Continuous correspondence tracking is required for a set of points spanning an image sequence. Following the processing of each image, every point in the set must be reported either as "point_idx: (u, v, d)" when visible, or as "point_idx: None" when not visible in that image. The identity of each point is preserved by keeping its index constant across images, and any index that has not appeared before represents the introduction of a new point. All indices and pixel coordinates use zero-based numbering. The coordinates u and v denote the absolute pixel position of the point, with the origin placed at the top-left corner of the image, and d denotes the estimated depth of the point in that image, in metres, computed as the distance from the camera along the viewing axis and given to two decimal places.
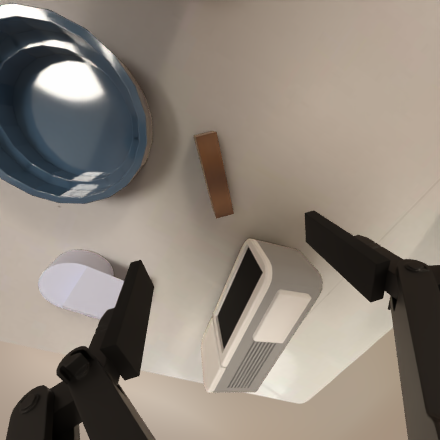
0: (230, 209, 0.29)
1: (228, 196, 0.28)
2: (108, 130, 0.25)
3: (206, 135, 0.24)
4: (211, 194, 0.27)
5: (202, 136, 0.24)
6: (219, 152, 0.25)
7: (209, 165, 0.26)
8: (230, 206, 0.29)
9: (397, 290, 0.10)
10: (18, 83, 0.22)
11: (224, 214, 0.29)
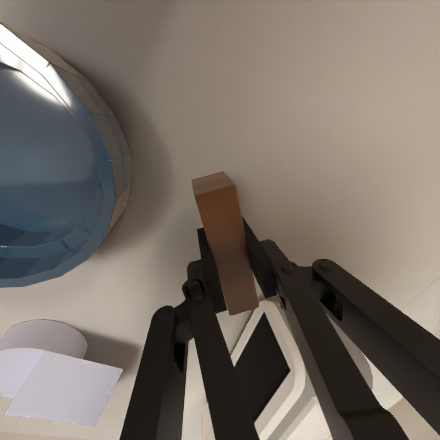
0: (254, 301, 0.17)
1: (251, 284, 0.16)
2: (66, 170, 0.17)
3: (216, 191, 0.13)
4: (222, 283, 0.16)
5: (208, 193, 0.13)
6: (239, 218, 0.14)
7: (219, 240, 0.14)
8: (254, 297, 0.17)
9: (282, 291, 0.12)
10: None
11: (243, 309, 0.17)
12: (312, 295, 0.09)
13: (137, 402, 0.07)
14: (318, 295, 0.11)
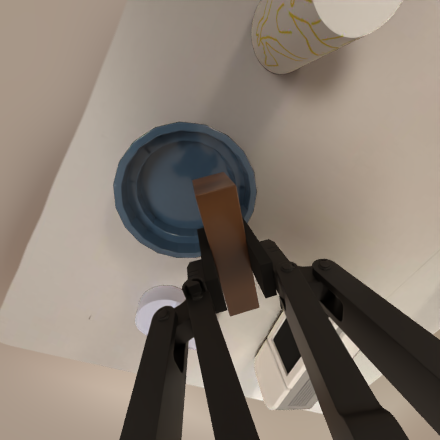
0: (254, 302, 0.17)
1: (252, 284, 0.16)
2: None
3: (216, 191, 0.13)
4: (222, 283, 0.16)
5: (208, 193, 0.13)
6: (240, 219, 0.14)
7: (220, 241, 0.14)
8: (254, 298, 0.17)
9: (282, 291, 0.12)
10: (148, 161, 0.27)
11: (244, 310, 0.17)
12: (312, 295, 0.09)
13: (137, 402, 0.07)
14: (318, 295, 0.11)
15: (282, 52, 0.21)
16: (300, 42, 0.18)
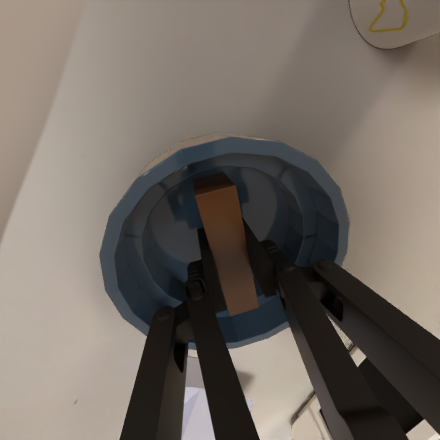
0: (254, 302, 0.17)
1: (251, 285, 0.16)
2: None
3: (216, 192, 0.13)
4: (222, 283, 0.16)
5: (208, 194, 0.13)
6: (239, 219, 0.14)
7: (220, 241, 0.14)
8: (254, 298, 0.17)
9: (282, 291, 0.12)
10: None
11: (243, 310, 0.17)
12: (312, 295, 0.09)
13: (137, 402, 0.07)
14: (318, 295, 0.11)
15: None
16: None
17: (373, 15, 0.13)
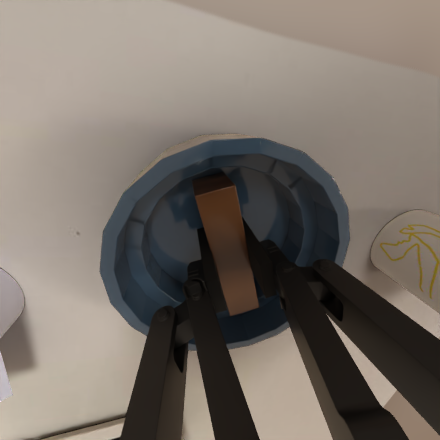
0: (254, 302, 0.17)
1: (252, 284, 0.16)
2: None
3: (216, 192, 0.13)
4: (222, 283, 0.16)
5: (208, 194, 0.13)
6: (239, 219, 0.14)
7: (220, 241, 0.14)
8: (254, 298, 0.17)
9: (282, 291, 0.12)
10: None
11: (243, 310, 0.17)
12: (312, 295, 0.09)
13: (137, 402, 0.07)
14: (318, 295, 0.11)
15: (425, 270, 0.18)
16: None
17: (390, 241, 0.22)
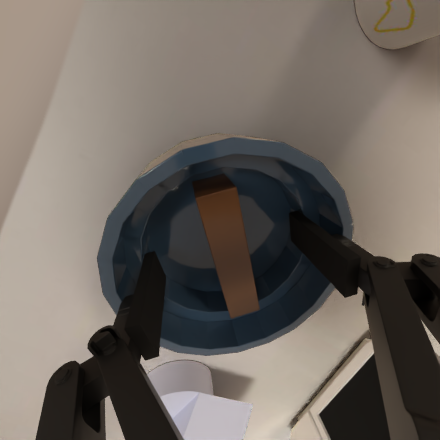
0: (255, 304, 0.17)
1: (252, 287, 0.16)
2: (254, 241, 0.19)
3: (217, 194, 0.12)
4: (222, 286, 0.15)
5: (209, 196, 0.12)
6: (240, 221, 0.13)
7: (220, 243, 0.14)
8: (255, 300, 0.17)
9: (369, 286, 0.11)
10: None
11: (244, 312, 0.17)
12: (408, 298, 0.08)
13: None
14: (418, 294, 0.10)
15: None
16: None
17: (379, 14, 0.13)
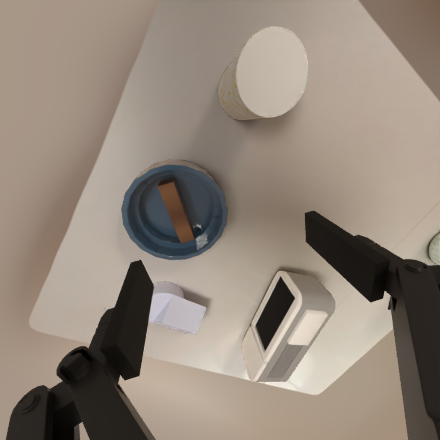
0: (191, 236, 0.37)
1: (188, 226, 0.36)
2: (194, 209, 0.39)
3: (165, 184, 0.32)
4: (174, 226, 0.35)
5: (162, 185, 0.32)
6: (177, 195, 0.33)
7: (170, 205, 0.34)
8: (191, 234, 0.36)
9: (397, 290, 0.10)
10: (146, 188, 0.36)
11: (187, 240, 0.37)
12: None
13: None
14: None
15: (237, 113, 0.29)
16: (244, 113, 0.26)
17: (227, 112, 0.32)
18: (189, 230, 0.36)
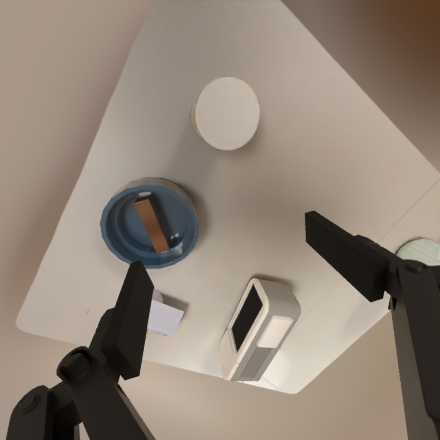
0: (166, 247, 0.40)
1: (163, 239, 0.39)
2: (171, 221, 0.42)
3: (141, 201, 0.35)
4: (150, 238, 0.39)
5: (138, 202, 0.35)
6: (152, 211, 0.36)
7: (146, 220, 0.37)
8: (166, 245, 0.40)
9: (397, 290, 0.10)
10: (125, 202, 0.39)
11: (162, 251, 0.40)
12: None
13: None
14: None
15: None
16: None
17: None
18: (164, 242, 0.39)
